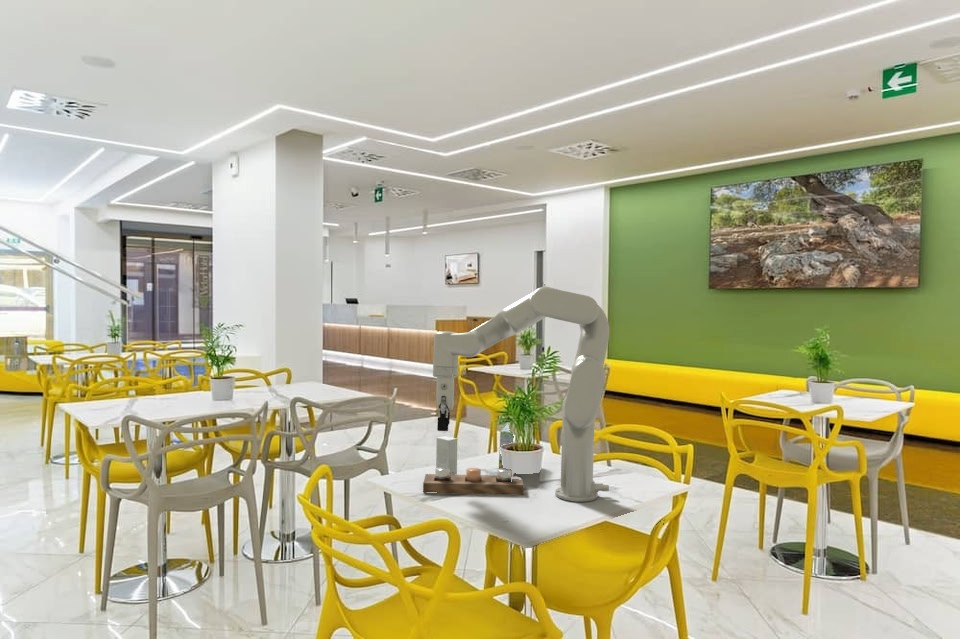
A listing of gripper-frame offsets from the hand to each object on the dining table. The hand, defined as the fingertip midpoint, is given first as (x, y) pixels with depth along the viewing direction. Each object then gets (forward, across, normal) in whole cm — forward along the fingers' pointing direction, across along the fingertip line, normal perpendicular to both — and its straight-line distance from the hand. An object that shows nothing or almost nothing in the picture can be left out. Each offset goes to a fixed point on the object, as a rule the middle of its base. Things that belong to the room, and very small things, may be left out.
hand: (443, 427), depth 198 cm
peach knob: (+16, 0, -10) cm, 19 cm away
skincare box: (+19, +17, -1) cm, 26 cm away
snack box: (+19, +25, -23) cm, 39 cm away
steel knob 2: (+16, 0, -19) cm, 25 cm away
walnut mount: (+19, 0, -10) cm, 21 cm away
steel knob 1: (+16, 0, 0) cm, 16 cm away
